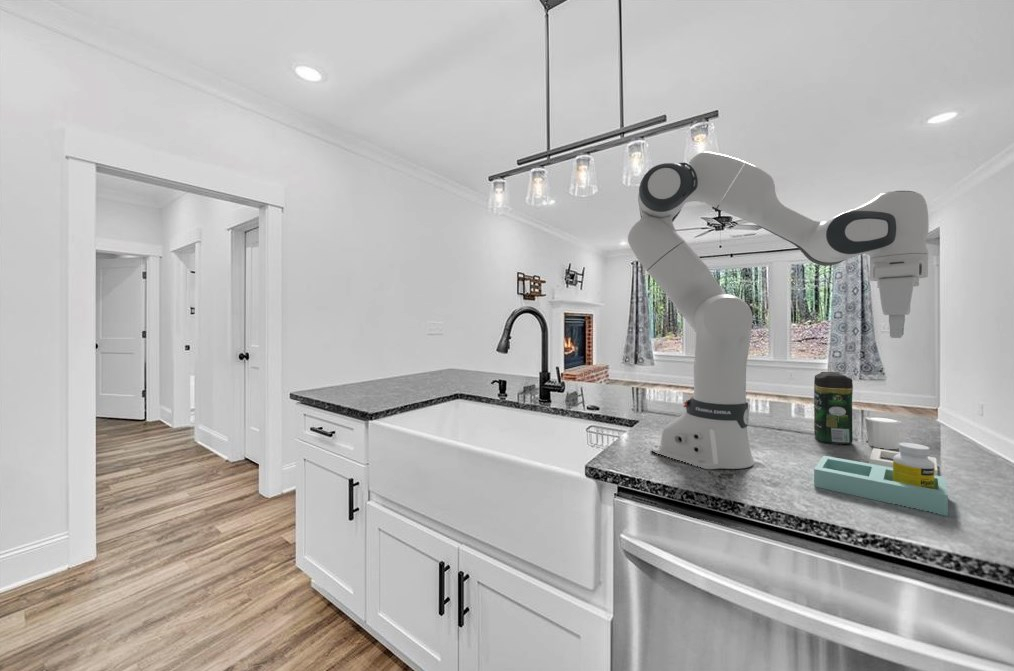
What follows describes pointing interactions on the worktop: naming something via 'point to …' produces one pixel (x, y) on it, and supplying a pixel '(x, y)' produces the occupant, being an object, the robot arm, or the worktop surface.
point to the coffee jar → (833, 408)
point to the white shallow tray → (879, 453)
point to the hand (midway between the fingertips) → (897, 336)
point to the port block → (879, 484)
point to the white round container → (883, 432)
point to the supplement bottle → (914, 465)
